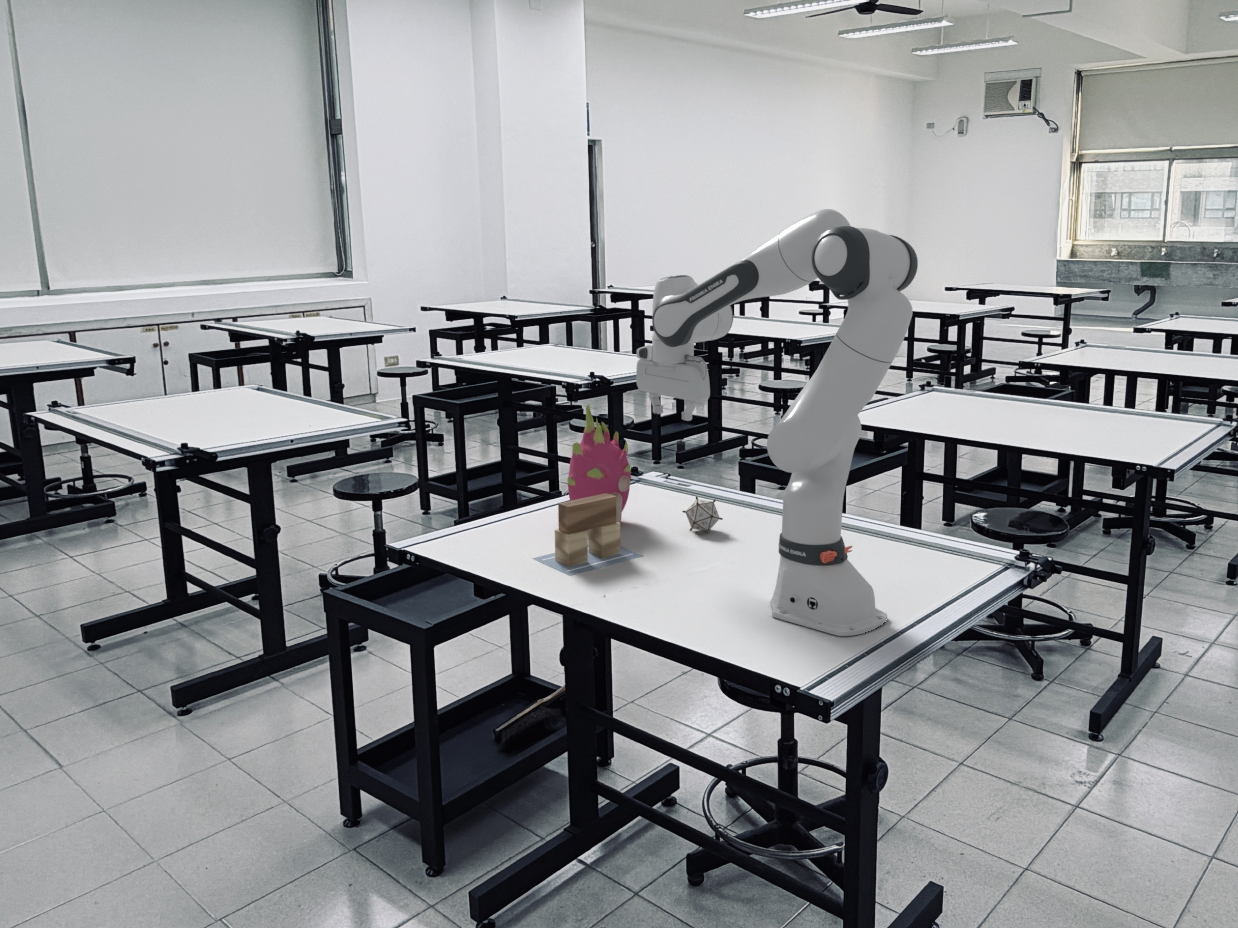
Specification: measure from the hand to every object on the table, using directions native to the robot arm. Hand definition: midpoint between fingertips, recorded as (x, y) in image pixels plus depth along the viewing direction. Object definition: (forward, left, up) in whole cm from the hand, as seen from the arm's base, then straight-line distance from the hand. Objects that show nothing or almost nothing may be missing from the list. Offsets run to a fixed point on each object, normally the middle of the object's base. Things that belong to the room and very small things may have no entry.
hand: (672, 416), depth 221 cm
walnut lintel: (+8, +17, -23) cm, 30 cm away
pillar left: (+8, +21, -30) cm, 38 cm away
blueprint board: (+8, +17, -31) cm, 36 cm away
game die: (+8, -17, -31) cm, 37 cm away
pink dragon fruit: (+26, 0, -31) cm, 41 cm away
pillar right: (+8, +12, -30) cm, 34 cm away
